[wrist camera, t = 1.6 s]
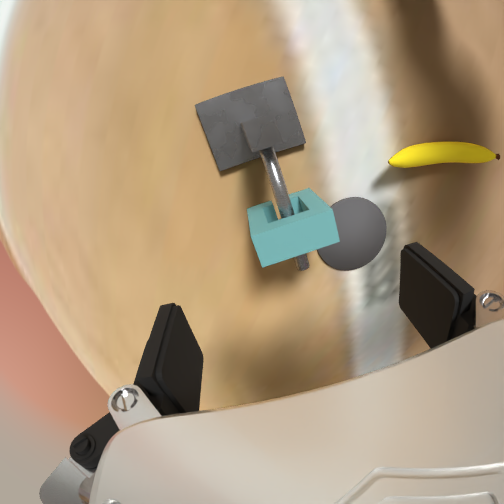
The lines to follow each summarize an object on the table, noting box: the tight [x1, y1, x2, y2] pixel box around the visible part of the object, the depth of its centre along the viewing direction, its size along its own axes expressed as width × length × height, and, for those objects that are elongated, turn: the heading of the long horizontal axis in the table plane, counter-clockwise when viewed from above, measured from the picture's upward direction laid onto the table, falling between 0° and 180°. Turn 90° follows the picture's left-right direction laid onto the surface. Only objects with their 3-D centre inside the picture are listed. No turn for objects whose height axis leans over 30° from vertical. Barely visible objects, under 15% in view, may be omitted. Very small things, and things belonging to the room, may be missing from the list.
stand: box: [195, 76, 309, 271], centre depth 26 cm, size 10×18×11 cm, turn 19°
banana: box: [388, 142, 500, 168], centre depth 28 cm, size 3×19×6 cm, turn 101°
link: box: [247, 188, 340, 268], centre depth 27 cm, size 7×3×8 cm, turn 109°
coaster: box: [317, 197, 386, 270], centre depth 35 cm, size 10×10×1 cm
